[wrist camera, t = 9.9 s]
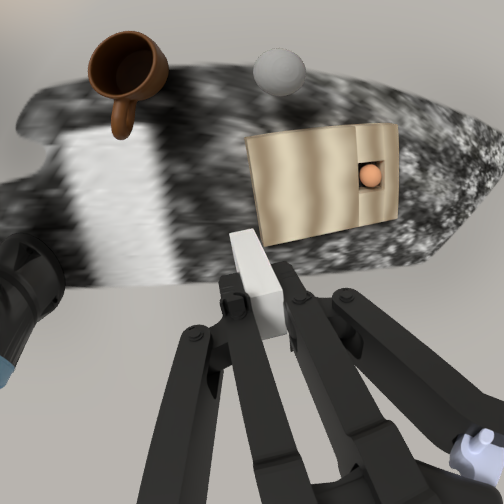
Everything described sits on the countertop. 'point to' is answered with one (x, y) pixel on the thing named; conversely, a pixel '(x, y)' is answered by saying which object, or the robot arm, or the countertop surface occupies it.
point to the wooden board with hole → (322, 179)
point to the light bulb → (279, 72)
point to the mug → (127, 75)
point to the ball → (370, 175)
